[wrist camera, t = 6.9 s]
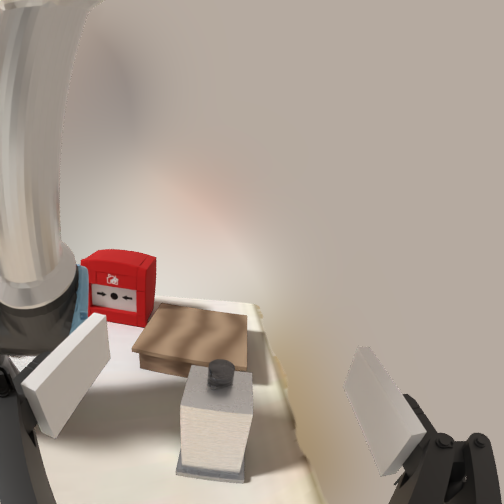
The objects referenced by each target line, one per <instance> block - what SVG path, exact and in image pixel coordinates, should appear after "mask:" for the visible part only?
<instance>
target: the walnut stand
mask: <svg viewBox="0 0 504 504" xmlns="http://www.w3.org/2000/svg"><path fill="white" fill-rule="evenodd" d="M132 352H136V353H139V358H140V368H142V369H146V370H151V371H155V372H160V373H165V374H170V375H176V376H181V377H187V378H188V375H189V372H190V368H191V365H196V366H202V367H209V363H210V362H211V361H213V360H216V359H223V360H227V361H230V362H231V363H233V364H234V366H235V371H240V370H243V371H246V370H247V315H239V314H231V313H224V312H216V311H209V310H203V309H196V308H190V307H183V306H177V305H171V304H165V303H161V305H160V306H159V308H158V309H157V311H156V312H155V313H154V315H153V316H152V318H151V319H150V321H149V322H148V324H147V325H146V327H145V328H144V330H143V331H142V333H141V334H140V336H139V337H138V339H137V341H136V342H135V344H134V345H133V347H132Z"/></svg>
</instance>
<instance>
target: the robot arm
mask: <svg viewBox="0 0 504 504" xmlns="http://www.w3.org/2000/svg"><path fill="white" fill-rule="evenodd" d="M103 1H105V0H0V503H1V504H56V501H55V499H54V496H53V493H52V490H51V488H50V485H49V481H48V478H47V475H46V472H45V468H44V465H43V461H42V458H41V454H40V450H39V446H38V441H37V437H36V433H35V430H34V427H35V426H36V424H38V426H39V428H40V430H41V432H42V433H44V434H46V435H48V436H50V437H52V438H54V439H56V438H57V436H58V435H59V433H60V432H61V430H62V428H63V427H64V425H65V424H66V422H67V421H68V419H69V418H70V416H71V415H72V413H73V412H74V410H75V409H76V407H77V406H78V404H79V403H80V401H81V400H82V398H83V397H84V395H85V394H86V393H87V391H88V390H89V388H90V387H91V385H92V384H93V382H94V381H95V380H96V378H97V377H98V375H99V374H100V372H101V371H102V370H103V368H104V367H105V365H106V364H107V363H108V361H109V360H110V350H109V341H108V332H107V320H106V315H102V314H98V313H93V314H92V315H91V316H90V317H88V294H89V274H88V269H87V268H86V267H85V266H81V265H79V264H78V265H77V264H76V262H75V258H74V254H73V253H72V251H71V250H70V248H69V247H68V246H67V245H66V244H65V243H63V242H62V241H61V229H60V200H59V199H60V198H59V197H60V194H59V193H60V187H59V186H60V159H61V158H60V157H61V144H62V133H63V124H64V115H65V108H66V102H67V96H68V90H69V85H70V80H71V74H72V70H73V66H74V61H75V57H76V53H77V49H78V46H79V42H80V38H81V35H82V32H83V28H84V25H85V22H86V19H87V16H88V13H89V12H90V11H91V10H92V9H93V8H94V7H95V6H97V5H99V4H100V3H102V2H103ZM8 355H12V356H37V357H36V358H35V359H34V360H33V361H32V362H30V363H29V364H28V365H27V367H25V368H24V369H23V370H22V371H21V372H19V370H18V369H17V368H16V366H15V365H14V363H13V362H12V361H11V359H10V358H9V356H8ZM343 388H344V391H345V393H346V395H347V398H348V400H349V402H350V404H351V407H352V409H353V411H354V414H355V416H356V418H357V421H358V423H359V425H360V427H361V430H362V432H363V435H364V437H365V439H366V442H367V444H368V446H369V449H370V451H371V454H372V456H373V458H374V461H375V463H376V466H377V468H378V471H379V473H380V476H386V475H391V474H395V473H396V472H397V471H398V470H399V469H400V468H401V466H402V465H403V467H404V469H405V472H404V473H403V474H402V475H401V476H400V477H399V479H398V480H397V481H396V482H395V483H394V485H396V484H397V483H398V482H399V483H398V485H397V487H396V489H395V491H394V494H393V496H392V498H391V500H390V502H389V504H502V503H501V494H500V487H499V481H498V475H497V469H496V464H495V460H494V455H493V451H492V446H491V442H490V440H489V439H488V438H487V437H486V436H485V435H484V434H481V433H473V434H472V435H470V437H469V438H468V440H467V441H457V442H456V441H454V440H453V438H452V437H451V436H449V435H447V434H445V433H437V431H436V430H435V429H434V427H433V425H432V424H431V422H430V421H429V419H428V418H427V417H426V415H425V414H424V412H423V411H422V409H421V408H420V406H419V405H418V404H417V402H416V401H415V400H414V399H413V398H412V397H410V396H409V395H408V394H401V392H400V390H399V389H398V387H397V386H396V384H395V383H394V381H393V380H392V379H391V377H390V375H389V374H388V373H387V371H386V370H385V368H384V367H383V365H382V364H381V362H380V361H379V359H378V358H377V357H376V355H375V354H374V352H373V351H372V350H371V348H370V347H357V349H356V352H355V355H354V358H353V361H352V364H351V366H350V369H349V372H348V375H347V377H346V380H345V383H344V385H343ZM465 477H466V478H465Z"/></svg>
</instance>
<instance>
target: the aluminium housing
mask: <svg viewBox="0 0 504 504" xmlns="http://www.w3.org/2000/svg"><path fill="white" fill-rule="evenodd" d="M252 417H253V390H252V373H249V372H240V371H235V366H234V364H233V363H231V362H230V361H227V360H223V359H216V360H213V361H211V362H210V363H209V367H202V366H196V365H191V368H190V372H189V375H188V379H187V382H186V386H185V390H184V393H183V397H182V400H181V404H180V427H181V450H180V454H179V459H178V463H177V468H176V475H179V476H185V477H191V478H197V479H204V480H211V481H220V482H230V483H244V452H245V447H246V443H247V439H248V435H249V430H250V426H251V422H252Z"/></svg>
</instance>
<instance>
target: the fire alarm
mask: <svg viewBox="0 0 504 504" xmlns="http://www.w3.org/2000/svg"><path fill="white" fill-rule="evenodd" d="M81 266H85V267H86V268H87V269H88V274H89V294H88V317H90V316H91V315H92V314H93V313H98V314H102V315H106V320H107V321H110V322H115V323H121V324H127V325H132V326H138V327H146V325H147V320H148V318H149V316H150V314H151V312H152V310H153V306H154V297H155V285H156V257H153V256H150V255H147V254H143V253H139V252H134V251H127V250H115V249H106V250H98V251H96V252H95V253H93V254H92V255H90V256H88V257H87V258H85V259H82V260H81Z"/></svg>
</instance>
